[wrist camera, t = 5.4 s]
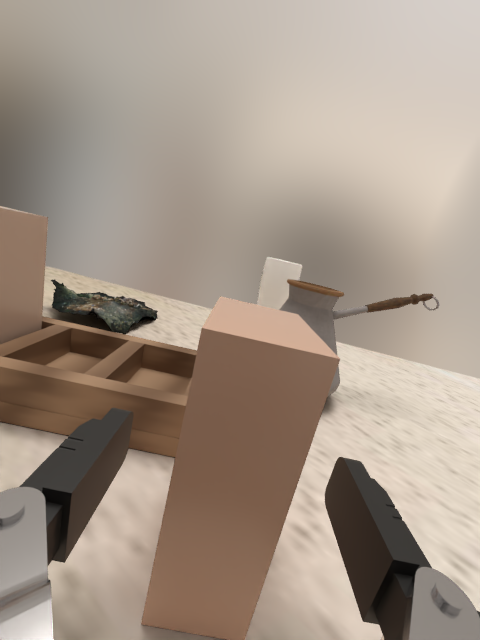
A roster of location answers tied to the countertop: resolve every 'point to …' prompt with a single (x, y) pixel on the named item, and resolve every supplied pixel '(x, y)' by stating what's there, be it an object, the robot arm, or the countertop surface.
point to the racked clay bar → (21, 272)
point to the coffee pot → (318, 313)
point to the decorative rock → (102, 307)
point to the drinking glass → (276, 282)
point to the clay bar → (236, 466)
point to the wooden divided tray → (95, 382)
